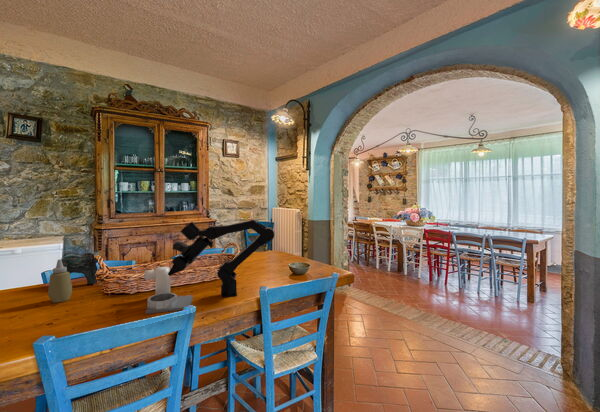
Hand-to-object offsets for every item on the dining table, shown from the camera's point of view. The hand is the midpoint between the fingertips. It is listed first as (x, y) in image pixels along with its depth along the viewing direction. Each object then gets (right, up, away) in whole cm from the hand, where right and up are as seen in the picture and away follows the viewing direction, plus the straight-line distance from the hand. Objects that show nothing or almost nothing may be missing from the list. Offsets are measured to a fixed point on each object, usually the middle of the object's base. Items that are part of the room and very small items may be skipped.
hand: (172, 272), depth 127 cm
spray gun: (-56, -11, +17) cm, 60 cm away
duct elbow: (-6, -11, -1) cm, 13 cm away
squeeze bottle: (-47, -12, -5) cm, 48 cm away
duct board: (+4, -11, -10) cm, 15 cm away
